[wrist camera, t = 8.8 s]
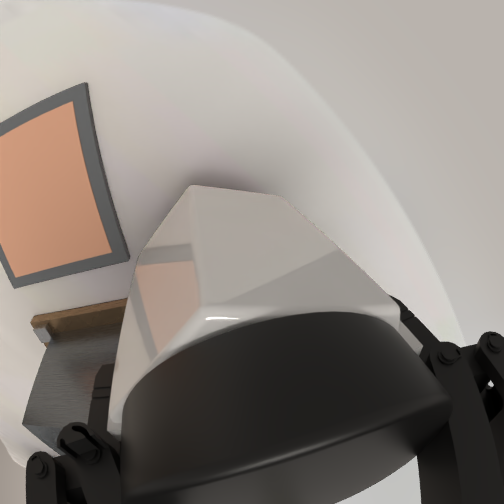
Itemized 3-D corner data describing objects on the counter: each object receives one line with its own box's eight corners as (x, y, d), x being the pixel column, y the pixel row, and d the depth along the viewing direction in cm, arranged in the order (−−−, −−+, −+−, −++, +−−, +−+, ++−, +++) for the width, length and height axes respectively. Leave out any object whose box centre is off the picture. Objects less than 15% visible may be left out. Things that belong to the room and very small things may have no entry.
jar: (231, 343, 18) (284, 524, 7) (117, 284, 14) (78, 514, 4) (330, 239, 16) (483, 401, 5) (218, 144, 12) (406, 309, 2)
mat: (16, 285, 18) (13, 289, 18) (-31, 145, 12) (-36, 147, 11) (130, 257, 20) (128, 261, 19) (87, 83, 14) (83, 82, 13)
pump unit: (81, 383, 25) (67, 477, 14) (33, 316, 20) (-10, 420, 10) (217, 364, 27) (240, 474, 16) (192, 284, 22) (206, 421, 12)
